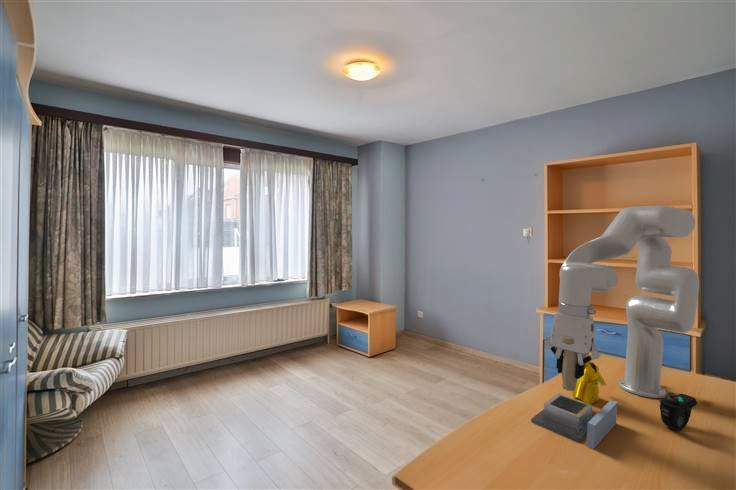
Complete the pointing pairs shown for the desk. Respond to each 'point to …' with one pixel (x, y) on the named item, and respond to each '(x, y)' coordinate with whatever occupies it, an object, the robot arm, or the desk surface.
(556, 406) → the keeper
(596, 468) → the desk surface
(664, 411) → the controller
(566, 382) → the handle
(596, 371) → the figure statuette
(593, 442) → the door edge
